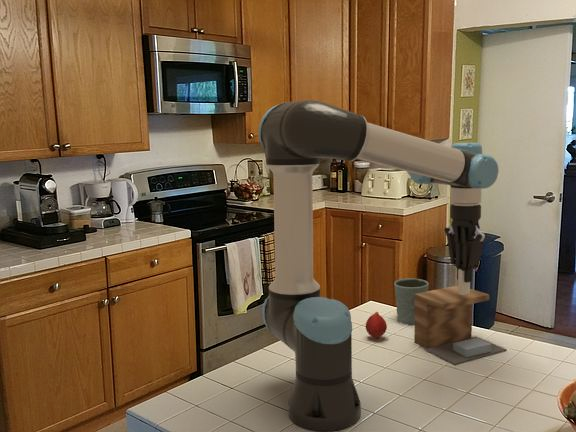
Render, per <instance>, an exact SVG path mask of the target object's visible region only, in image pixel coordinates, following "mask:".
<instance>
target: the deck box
mask: <svg viewBox="0 0 576 432" xmlns="http://www.w3.org/2000/svg"><path fill="white" fill-rule="evenodd" d="M479 338H480V337H478V338H474V339H470V340H465V341H461V342H456V343H453V351H455V352H457V353H459V354H461V355H463V356H465V357H471V356H475V355H479V354H483V353H487V352H490V351H491V344H490V343H491V342H490V343H488V342H489V341H488V342H485V341H486V340H485V341H483V340H484V339H483V340H481V339H482V338H481V339H479Z"/></svg>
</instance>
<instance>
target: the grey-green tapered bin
mask: <svg viewBox="0 0 576 432" xmlns="http://www.w3.org/2000/svg"><path fill="white" fill-rule="evenodd" d="M393 284H394V291H395V294H394V295H395V301H396V302H395V304H396V317H397V322H398V323H400V322H401V323H400V324H402V323H403V325H406V324H408V326H415V294H416V293H422V292H427V291H429V287H430V285H429V284H430V283H429V282H428V281H427V280H424V279H420V278H400V279H397V280H395V281H394V282H393Z"/></svg>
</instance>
